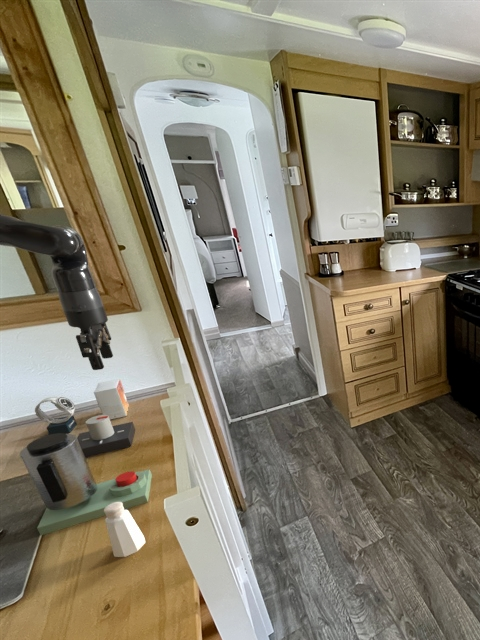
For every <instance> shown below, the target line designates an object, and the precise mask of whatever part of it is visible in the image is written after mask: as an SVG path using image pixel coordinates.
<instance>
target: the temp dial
mask: <svg viewBox="0 0 480 640" xmlns="http://www.w3.org/2000/svg"><path fill="white" fill-rule="evenodd" d="M85 425H86V427H87V430H88V431H89V432H90V435H91V437H92V439H93V440H102V439H106V438H108V437H110V436H112V435H113V434H114V429H113V427H112V426H113V425H112V421H111V420H110V419H109V416H108V415H102V414H99V415H95V416H92V417H90V418H88V419H86V420H85Z"/></svg>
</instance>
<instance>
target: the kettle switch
mask: <svg viewBox="0 0 480 640" xmlns="http://www.w3.org/2000/svg"><path fill="white" fill-rule="evenodd" d="M135 472H136V471H131V470H130V471H125V472H123V473H121V474H119V475H117V476H116V477H115V478H114V479H115V480H116V483H117V485H118V487H124V486H128V485H130V484H132V483H134V482H135V481H136V480H137V477H136V474H135Z"/></svg>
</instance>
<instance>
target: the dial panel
mask: <svg viewBox="0 0 480 640" xmlns="http://www.w3.org/2000/svg"><path fill="white" fill-rule="evenodd" d="M112 427H113V429H114V434H113V435H112V436H110V437H108V438H106V439H102V440H93V439H92V437H91V435H90V432H89V430H88V431H85V432H80V433H78V435H77V436H76V437H77V439H78V442H79V444H80V447H81V449H82V451H83V454H84V456H85V458H86V459H87V458H90V457H94V456H98V455H102V454H103V455H104V454H106V453H110V452H115V451H118V450H122V449H126V448H131V447H132V446H133V441H134V437H135V433H136V427H135V425H134V421H130V422H124V423H121V424H115V425H112ZM130 446H131V447H130Z"/></svg>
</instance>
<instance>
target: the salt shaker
mask: <svg viewBox="0 0 480 640" xmlns="http://www.w3.org/2000/svg"><path fill="white" fill-rule="evenodd" d="M104 512H105V513H106V515H105V516H106V518H104V520H105V525H106V530H107V534H108V538H109V542H110V545H111V550H112V554H113V558H126V557H128V556H131V555H133V554H135V553H137V552H138V551H140V549H141V548H142V547H143V546H144V545H145V544H146V543H147V542H146V539H145V536H144V534H143V532H142V531H141V529H140V527H139V526H138V524H137V523H136V520H135V519H134V518H133V516H132V514H131V512H130V511H129V510H128V509H124V507H123V504H122V502H114V503H111V504H109V505H108V506H106V507H105V509H104Z"/></svg>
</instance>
